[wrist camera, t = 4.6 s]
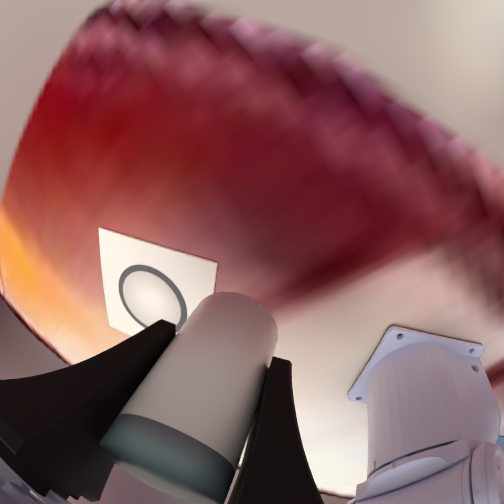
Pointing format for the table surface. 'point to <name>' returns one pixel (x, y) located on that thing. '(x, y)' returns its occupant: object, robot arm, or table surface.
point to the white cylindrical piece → (197, 401)
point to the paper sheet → (151, 282)
